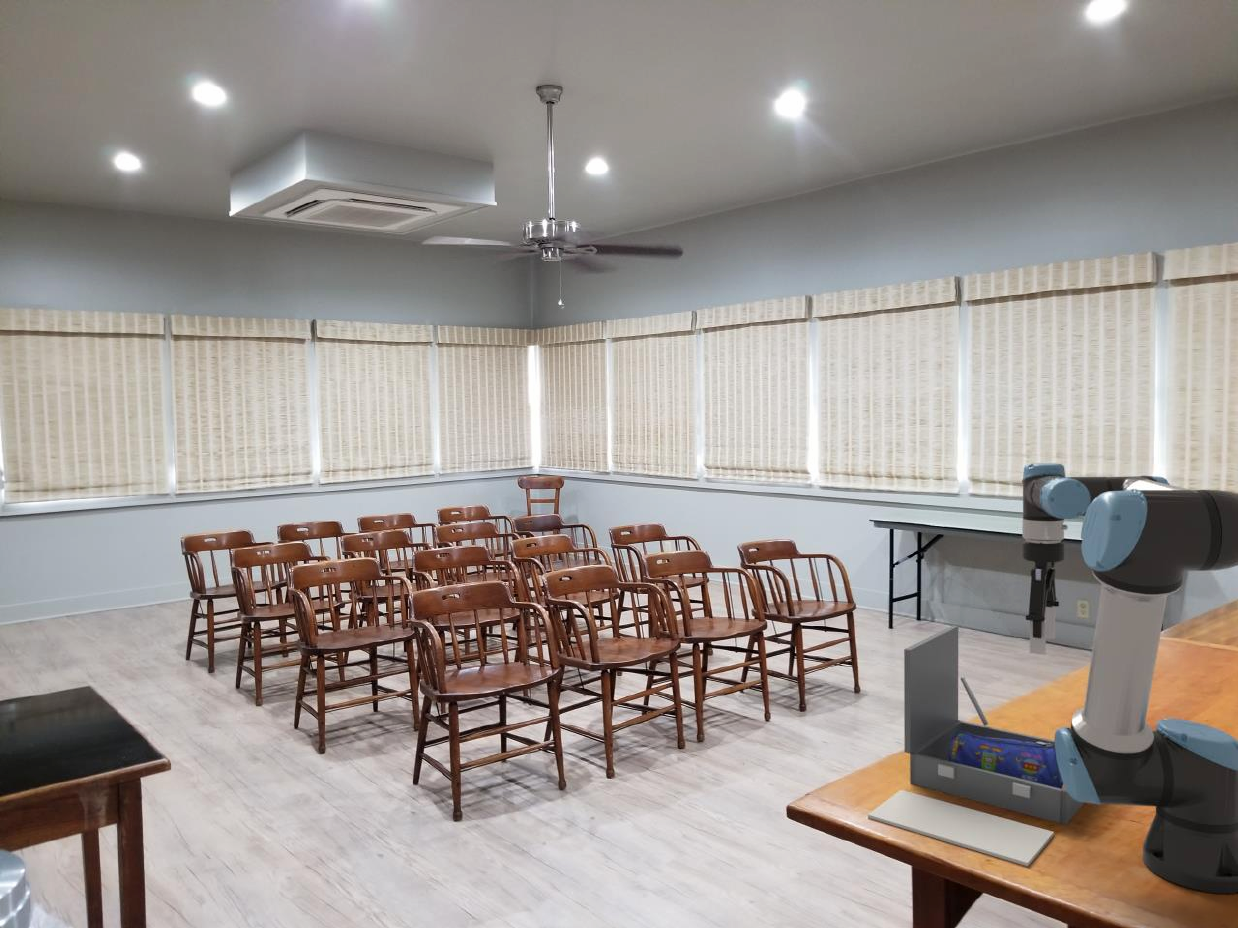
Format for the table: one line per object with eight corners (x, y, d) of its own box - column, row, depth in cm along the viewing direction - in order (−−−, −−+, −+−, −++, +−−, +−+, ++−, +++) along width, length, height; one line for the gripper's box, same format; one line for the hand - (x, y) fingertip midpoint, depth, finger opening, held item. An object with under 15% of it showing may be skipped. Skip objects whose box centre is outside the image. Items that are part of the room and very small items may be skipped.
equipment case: (1064, 826, 160) (1066, 677, 159) (902, 782, 180) (902, 649, 179) (1102, 780, 180) (1104, 647, 178) (952, 745, 200) (952, 625, 198)
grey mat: (1027, 866, 147) (1027, 862, 147) (868, 817, 165) (868, 814, 165) (1053, 835, 157) (1053, 831, 157) (900, 792, 176) (900, 789, 176)
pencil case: (1069, 785, 178) (1069, 737, 177) (1065, 801, 171) (1066, 752, 170) (952, 764, 189) (952, 720, 189) (944, 779, 182) (944, 733, 181)
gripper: (1055, 550, 167) (1055, 663, 168) (1071, 533, 188) (1070, 634, 189) (1012, 547, 171) (1011, 657, 172) (1032, 531, 192) (1031, 630, 193)
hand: (1042, 645), depth 181 cm, fingers open, 13 cm apart
